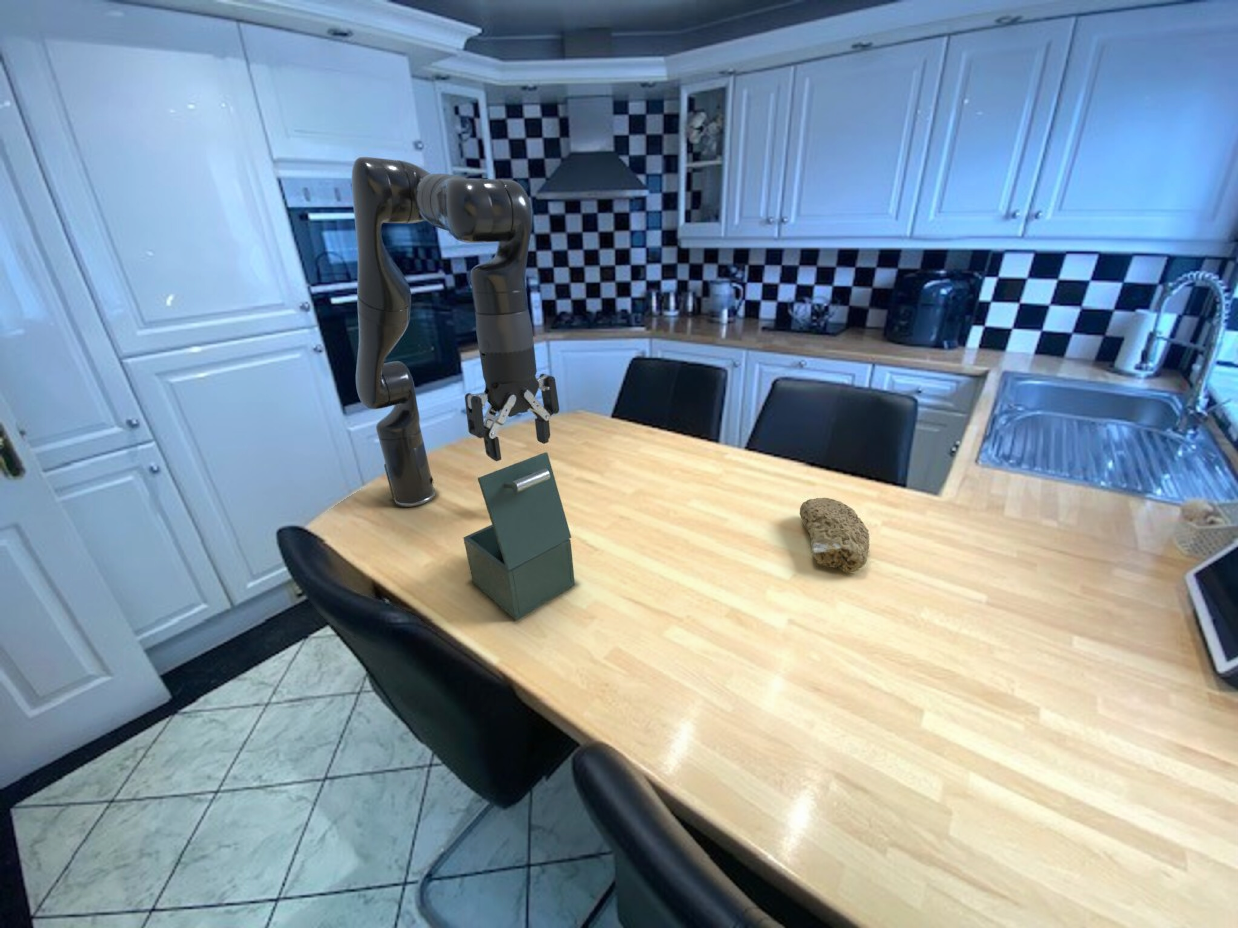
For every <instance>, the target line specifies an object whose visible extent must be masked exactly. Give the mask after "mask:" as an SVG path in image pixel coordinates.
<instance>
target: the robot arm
mask: <svg viewBox="0 0 1238 928" xmlns="http://www.w3.org/2000/svg"><path fill="white" fill-rule="evenodd" d="M351 192H352V193H351V194H352V195H351V196H352V205H353V206H352V207H353V213H354V214H353V216H354V225H355V226H354V227H355V235H356V237H355V238H356V251H357V287H356V289H357V290H356V293H357V294H356V296H357V298H356V300H357V303H356V304H357V318H358V319H357V321H358V347H357V348H358V349H357V359H356V369H355V386H356V392H357V395H358V398H359V400H360V402H361V404H363V406H364V407H366V408H367V409H370V410H381V409H385V408H389V407H392V406H393V408H392V409H391V410H390V412H389V413H388V414H387V415H386V416H384V417H383V418H381V419H380V420H379V421H378V422H377V424H376V426H375V430H376V435H377V437H378V442H379V446H380V448H381V452H382V456H383V459H384V465H383V467H384V471H385V475H386V479H387V483H388V487H389V489H390V493H391V497H392V500H393V501H394V503H395V505H397V506H398V507H402V508H412V507H417V506H422V505H424V504H427V503H428V502H430V501H432V500H433V499H434V498H435V496H436V494H437V493H436V490H435V487H434V484H435V482H434V479H433V475H432V473H431V469H430V464H429V460H428V455H427V451H426V445H425V442H424V437H423V433H422V429H421V424H420V423H421V422H420V421H421V420H420V419H421V418H420V412H419V407H418V402H417V395H416V388H415V383H414V380H413V379H414V378H413V376H412V373H411V371H410V369H409V368H408V366H407V365H406V364H405V363H404V362H403V361H399V360H393V361H389V362H386V359H387V357H388V356H389V354H390V353H391V352H392V350H393V349H394V347H395V346H396V345H397V344H398V343H399V341H400V339H401V338H402V337H403V335H404V334H405V332H406V331H407V329H408V326H409V323H410V320H411V307H412V292H411V287H410V285H409V282H408V281H407V279H406V277H405V276H404V274H403V272H402V270H400V268H399V267H398V266H397V264H396V263H395V261H394V260H393V258H392V257H391V255H390V254H389V252H388V250H387V249H386V246H385V243H384V241H383V237H382V236H383V235H382V226H383V224H384V223H385V224H416V223H422V222H427V223H428V224H430V225H431V226H433V227H435V228H438V229H439V230H445V231H447V232H449V233H450V234H451V235H452V236H453V238H454V239H455V240H457V241H459V242H463V243H467V244H485V243H498V244H497V248H496V251H495V255H494V257H492V258H491V259H490V260H488V261H485V262H482V263H479V264H477V265H475V266H473V268H471V270H470V275H469V277H470V287H471V294H472V300H473V307H474V313H475V329H476V330H475V332H476V338H477V346H478V352H479V359H480V366H481V371H482V378H483V381H484V384H485V388H484V391H483V392H479V393H472V392H467V393H466V394H465V395H464V403H465V411H466V421H467V429H468V433H469V434H470V435H472V436H475V437H476V438H478V439H483V443H484V449H485V454H486V455H487V457H489V458H490V459H491V460H492V461H494V462H499V461H501V460H502V452H501V448H500V447H501V446H500V440H499V437H498V433H499V431H500V429H501V428H502V427H501V426H503V425H505V423H506V421H507V419H508V417H509V418H511V417H514V416H516V415H518V414H525V413H528V412H529V411H530V412H531V414H532V415H534V417H536V418H534V423H535V433H536V441H537V442H539V443H541V444H544V445H545V444H548V443H549V442H550V441H549V439H550V438H551V429H550V428H551V426H550V419H551V417H552V416H553V415H556V414H558V413H559V412H560V405H559V398H558V390H557V383H556V378H555V376H552V375H549V374H546V373H541V374H540V375H539V376H538V377H536V375H537V372H538V371H537V370H538V369H537V360H536V352H535V342H534V334H533V325H532V320H531V317H530V316H531V315H530V312H529V311H530V310H529V302H528V296H527V295H528V294H527V285H526V272H527V263H528V256H529V249H530V240H531V235H532V229H533V207H532V204H531V201H530V198H529V195H528V194H527V191H526V189H525V188H524V187H523V186H522V185H521V184H520V183H519V182H517V181H515V180H512V179H503V178H502V179H501V178H500V179H497V178H466V177H464V176H462V175H457V174H449V173H448V174H447V173H430V172H429V171H427V170H425V169H424V168H422V167H420V166H418V165H416V164H414V163H412V162H409V161H406V160H400V159H399V160H398V159H390V158H389V159H388V158H380V157H372V156H371V157H370V156H360V157H358V158H356V159H355V160H354V162H353V164H352V169H351ZM539 390H540V392H541V399H542V403H541V402H540V401H539V399H538V398H536V396H537V393H538V391H539ZM486 403H488V404H489V405H488V408H487V409H486V412H485V414H484V409H485V408H486ZM497 413H498V414H497ZM484 418H485V419H484Z"/></svg>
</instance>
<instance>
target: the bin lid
mask: <svg viewBox="0 0 1238 928" xmlns="http://www.w3.org/2000/svg"><path fill="white" fill-rule="evenodd" d="M477 481H478V485H479V487H480V490H481V493H482V497H483V500H484V503H485V506H486V509H487V512H488V516H489V519H490V522H491V525H493V529H494V532H495V535H496V538H497V541H498V544H499V547H500V551H501V554H502V557H503V560H504V563H505V566H506V569H507V570H511V569H513V568H515V567H517V566H519V565H520V564H522V563H524V562H526V561H528V560H530V559H532V558H534V557H536V556H537V555H539V554H541V553H543V552H545V551H547V550H549V549H551V548H553V547H555V546H556V545H558V544H560V543H562V542H564V541H566V540H568V539H570V540H571V538H572V534H571V531H570V527H569V524H568V520H567V517H566V514H565V509H564V506H563V503H562V498H561V495H560V491H559V489H558V485H557V481H556V478H555V474H554V471H553V466H552V464H551V460H550V457H549V453H548V451H547V452H542V453H540V454H537V455H534V456H532V457H529V458H526V459H524V460H521V461H518V462H516V463H513V464H510V465H507V466H506V467H503V468H500V469H498V470H495V471H492V472H490V473H487V474H484V475H482V476H479V477H477Z"/></svg>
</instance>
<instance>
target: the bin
mask: <svg viewBox="0 0 1238 928" xmlns="http://www.w3.org/2000/svg"><path fill="white" fill-rule="evenodd" d="M462 539H463V542H464V543H463V544H464V547H465V552H466V558H467V563H468V567H469V573H470V577H471V581H472V583H473V584H474V585H475V586H477V587H478V588H479V589H480V590H481V591H482V592H483V593H484V594H486V595H487V596H488V597H489V598H490V599H491V600H492V601H493V602H494V603H495V604H497V606H499V607H500V608H501V609H502V610H503V611H504V612H506V613H507V614H508V615H509V616H510V617H511V618H512V619H513V620H515V621H518V620H520V619H521V618H522V617H525V616H526V615H527V614H528V615H529V613H531V612H533V611H534V610H536V609H537V608H539V607H540V606H542V605H544V604H546V603H548V602H549V601H551V600H552V599H554V598H556V597H558V596H559V595H561V594H563V593H564V592H566V591H568V590H569V589H570V588H572V587H574V586H575V585H576V582H575V581H576V580H575V572H574V571H575V570H574V561H573V551H572V542H571V538H570V539H568V540H566V541H564V542H562V543H560V544H558V545H556V546H555V547H553V548H551V549H549V550H547V551H545V552H543V553H541V554H539V555H537V556H536V557H534V558H532V559H530V560H528V561H526V562H524V563H522V564H520V565H519V566H517V567H515V568H513V569H511V570H507V569H506V566H505V563H504V560H503V557H502V554H501V551H500V547H499V544H498V541H497V538H496V535H495V532H494V529H493V525H492V524H490V525H487V526H485V527H483V528H481V529H479V530H477V531H474V532H472V533H470V534H468V535H466V536H464V537H463V538H462Z"/></svg>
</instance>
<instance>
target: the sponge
mask: <svg viewBox="0 0 1238 928" xmlns="http://www.w3.org/2000/svg"><path fill="white" fill-rule="evenodd" d="M799 516H800V519H801V522H802V525H804V527H805V529H806V530H807V532H808V534H809V538H810V539H811V542H810V553H811V556H812V557H813V558H814V559H815V560H816V561H817V563H818V564H820V565H823V566H826V567H829V568H834V569H837V568H839V569H840V570H842V571H843V572H845V573H847V574H854V573H856V572H858V571H860V569H861V568H863V567H864V566H865V565H866V563H867V561H868V558H869V552H870V550H869V549H870V533H869V532H870V531H869V529H868V528H867V527H866V525H865V523H864V522H863V521H862V519H861V518H860V517H859V515H858V514H857V513H856V510H854V508H852V507H850V506H849V505H847V504H846V503H844V502H842V501H840V500H836V499H833V498H830V497H829V498H828V497H816V498H810V499H806V501H803V502H802V503H801V505H800V508H799Z"/></svg>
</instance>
